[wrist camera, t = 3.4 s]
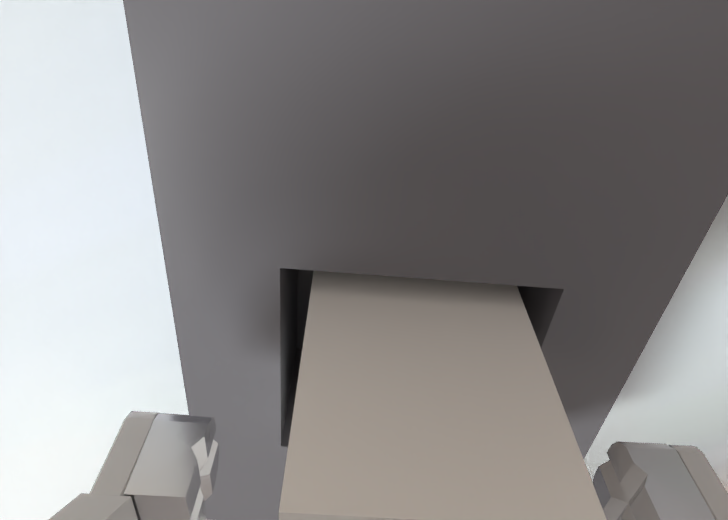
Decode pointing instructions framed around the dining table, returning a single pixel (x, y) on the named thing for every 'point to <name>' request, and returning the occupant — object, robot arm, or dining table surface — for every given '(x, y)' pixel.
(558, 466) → the plug
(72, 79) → the dining table surface
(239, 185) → the power strip
